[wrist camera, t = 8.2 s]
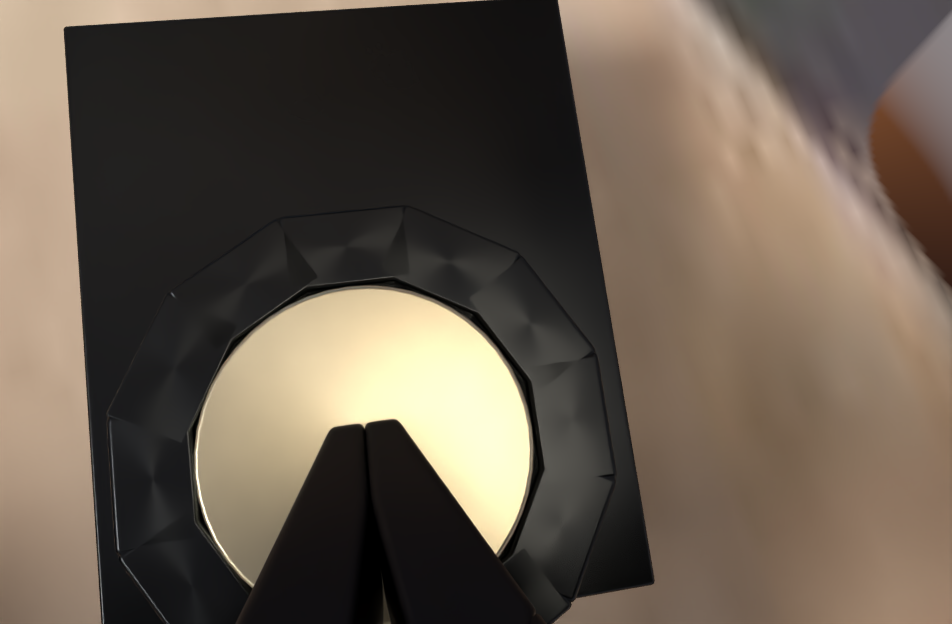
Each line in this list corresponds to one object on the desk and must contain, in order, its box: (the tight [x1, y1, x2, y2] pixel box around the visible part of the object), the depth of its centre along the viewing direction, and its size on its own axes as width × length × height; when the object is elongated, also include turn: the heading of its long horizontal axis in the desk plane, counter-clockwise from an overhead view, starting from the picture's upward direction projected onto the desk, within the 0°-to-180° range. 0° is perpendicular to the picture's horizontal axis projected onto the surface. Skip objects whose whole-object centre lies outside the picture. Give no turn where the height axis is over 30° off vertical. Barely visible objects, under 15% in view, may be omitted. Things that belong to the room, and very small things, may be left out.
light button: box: [194, 285, 534, 624], centre depth 11 cm, size 4×4×3 cm
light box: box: [64, 0, 655, 624], centre depth 14 cm, size 12×9×6 cm
